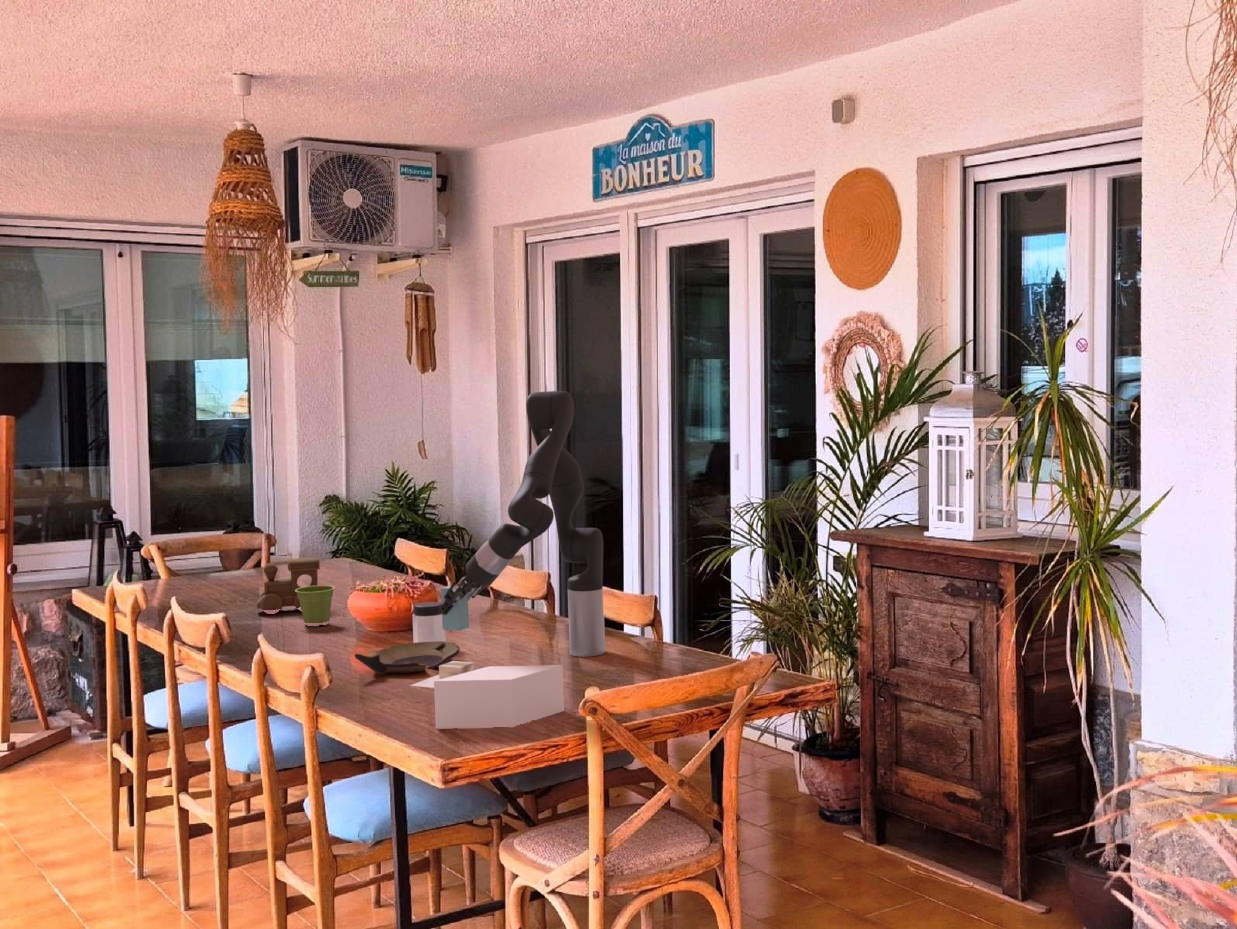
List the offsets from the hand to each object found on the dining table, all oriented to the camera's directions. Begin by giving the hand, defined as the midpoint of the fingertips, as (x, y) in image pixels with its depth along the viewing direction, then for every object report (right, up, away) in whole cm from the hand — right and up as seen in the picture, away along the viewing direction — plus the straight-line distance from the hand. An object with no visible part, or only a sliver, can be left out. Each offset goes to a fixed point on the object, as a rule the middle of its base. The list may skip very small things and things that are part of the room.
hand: (448, 610), depth 314 cm
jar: (-11, -16, +46) cm, 50 cm away
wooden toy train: (-66, -13, +111) cm, 130 cm away
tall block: (+2, -4, -1) cm, 5 cm away
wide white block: (+16, -20, -33) cm, 42 cm away
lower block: (+2, -17, 0) cm, 17 cm away
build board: (+2, -18, 0) cm, 18 cm away
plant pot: (-51, -14, +85) cm, 100 cm away
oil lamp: (-13, -18, +17) cm, 28 cm away
